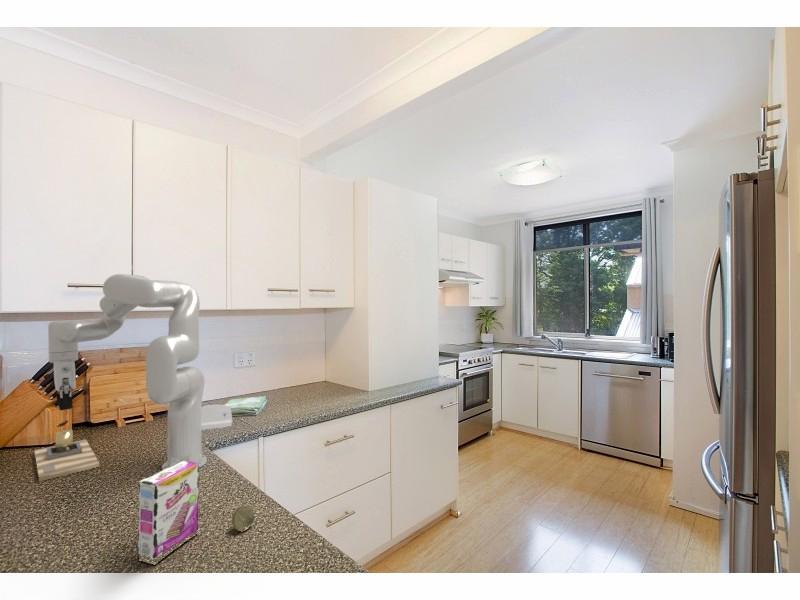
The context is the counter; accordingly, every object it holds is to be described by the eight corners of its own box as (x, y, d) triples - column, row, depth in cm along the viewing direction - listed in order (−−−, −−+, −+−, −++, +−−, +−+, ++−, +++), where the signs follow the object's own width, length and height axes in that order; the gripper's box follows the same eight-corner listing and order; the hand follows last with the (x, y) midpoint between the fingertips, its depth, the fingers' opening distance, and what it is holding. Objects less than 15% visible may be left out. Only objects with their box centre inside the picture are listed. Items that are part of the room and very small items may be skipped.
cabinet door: (99, 467, 123) (99, 458, 123) (39, 482, 113) (39, 472, 113) (86, 443, 144) (86, 435, 144) (34, 454, 134) (34, 445, 134)
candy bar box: (156, 567, 76) (155, 484, 76) (136, 562, 78) (136, 481, 78) (200, 534, 87) (199, 461, 87) (182, 530, 88) (182, 459, 88)
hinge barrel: (68, 454, 129) (68, 433, 129) (52, 455, 128) (52, 434, 128) (75, 449, 133) (75, 429, 133) (60, 450, 132) (60, 430, 132)
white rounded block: (187, 431, 156) (188, 406, 159) (189, 432, 160) (190, 407, 163) (232, 426, 162) (232, 402, 165) (232, 426, 166) (232, 403, 170)
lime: (255, 523, 91) (255, 502, 91) (248, 535, 86) (248, 513, 86) (236, 523, 91) (236, 502, 91) (228, 536, 86) (228, 513, 86)
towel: (216, 418, 174) (216, 407, 174) (230, 406, 195) (230, 396, 195) (258, 416, 177) (258, 405, 177) (267, 404, 198) (267, 394, 198)
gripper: (81, 357, 127) (82, 409, 127) (74, 353, 140) (75, 400, 139) (50, 360, 122) (51, 414, 122) (47, 355, 134) (47, 404, 134)
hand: (64, 406), depth 131 cm, fingers open, 9 cm apart
